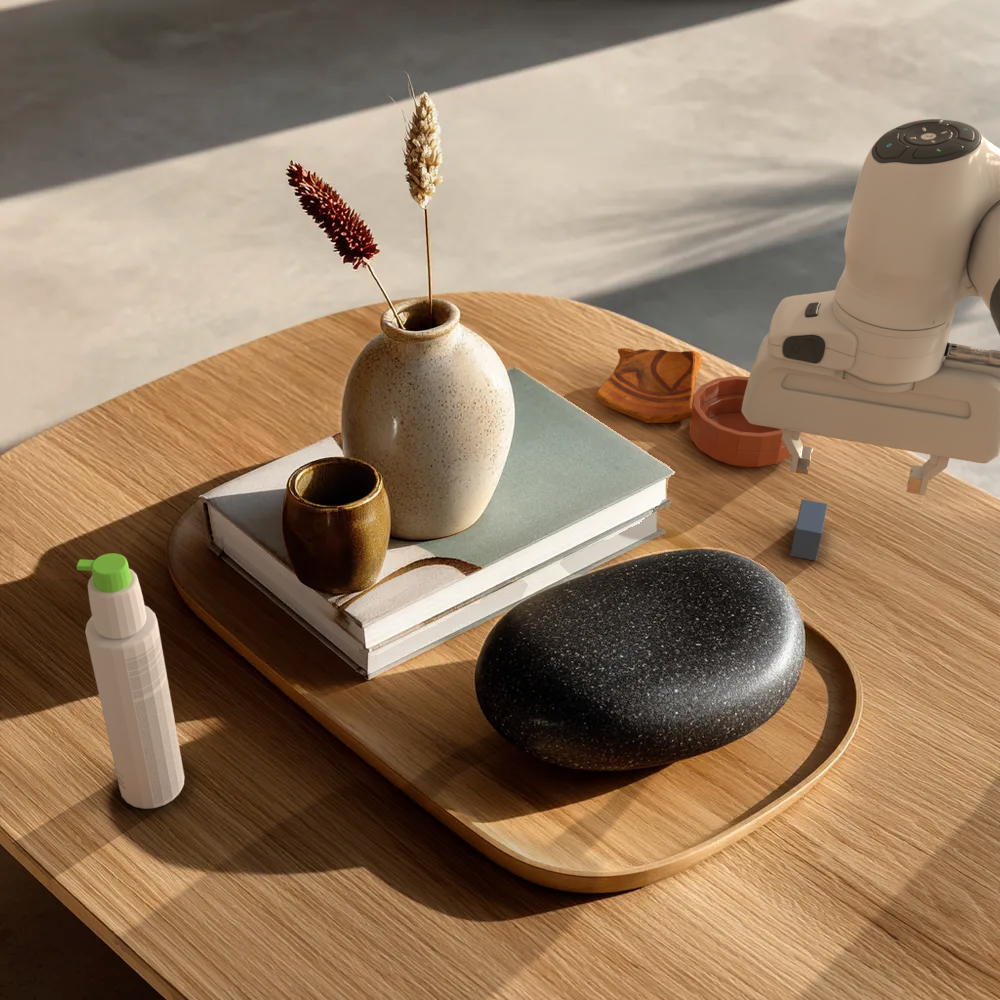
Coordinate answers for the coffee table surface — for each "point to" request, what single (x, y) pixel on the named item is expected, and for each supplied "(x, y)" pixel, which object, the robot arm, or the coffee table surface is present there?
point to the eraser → (808, 530)
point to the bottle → (132, 684)
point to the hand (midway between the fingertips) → (857, 479)
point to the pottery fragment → (652, 385)
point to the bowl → (732, 426)
